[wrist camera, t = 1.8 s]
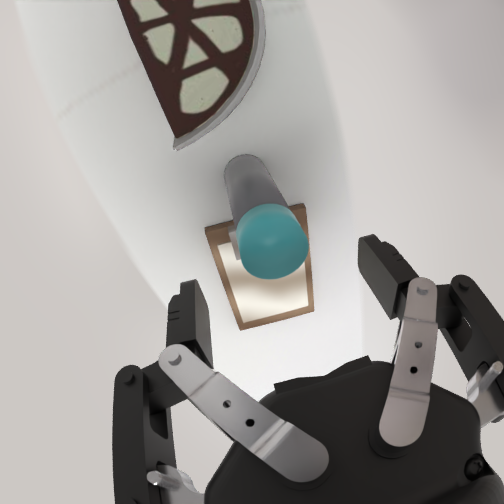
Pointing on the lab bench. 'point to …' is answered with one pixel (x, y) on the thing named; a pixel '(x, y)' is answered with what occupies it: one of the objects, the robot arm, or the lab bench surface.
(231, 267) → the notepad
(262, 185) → the marker
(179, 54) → the food container
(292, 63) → the lab bench surface
